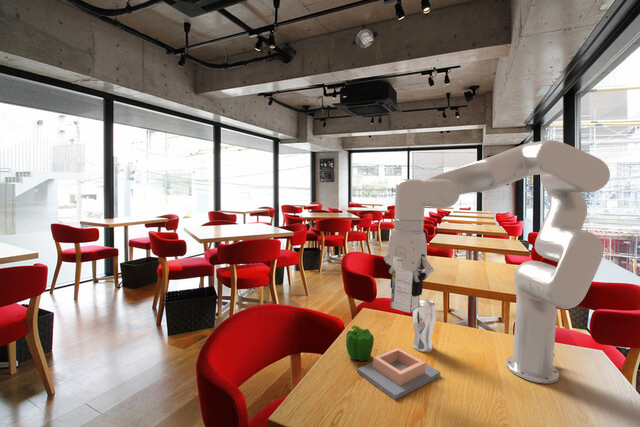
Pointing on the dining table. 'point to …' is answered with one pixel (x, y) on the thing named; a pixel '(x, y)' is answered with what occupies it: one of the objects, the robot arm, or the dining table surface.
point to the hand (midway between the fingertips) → (405, 290)
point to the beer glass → (424, 325)
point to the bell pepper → (359, 343)
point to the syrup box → (402, 288)
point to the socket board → (398, 372)
